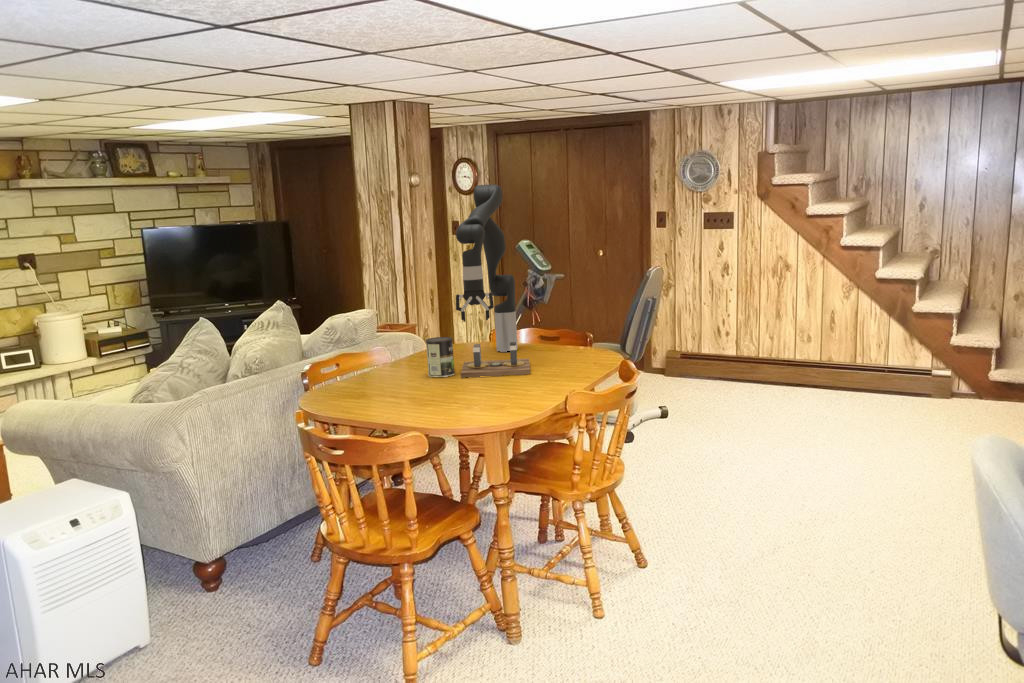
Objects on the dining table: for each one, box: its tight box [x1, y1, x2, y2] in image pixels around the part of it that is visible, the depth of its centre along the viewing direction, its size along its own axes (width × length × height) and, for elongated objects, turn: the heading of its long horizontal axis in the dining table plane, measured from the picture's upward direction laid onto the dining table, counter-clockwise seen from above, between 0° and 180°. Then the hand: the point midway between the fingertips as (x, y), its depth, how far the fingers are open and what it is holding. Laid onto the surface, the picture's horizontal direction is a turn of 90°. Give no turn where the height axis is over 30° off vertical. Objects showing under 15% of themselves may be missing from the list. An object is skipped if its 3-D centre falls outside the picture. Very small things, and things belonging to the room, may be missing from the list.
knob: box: [504, 342, 524, 367], centre depth 314 cm, size 9×8×8 cm
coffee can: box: [425, 336, 456, 378], centre depth 311 cm, size 10×10×14 cm
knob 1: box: [468, 343, 488, 369], centre depth 314 cm, size 9×8×8 cm
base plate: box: [460, 358, 531, 379], centre depth 314 cm, size 22×26×3 cm
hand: (475, 320), depth 308 cm, fingers open, 8 cm apart
